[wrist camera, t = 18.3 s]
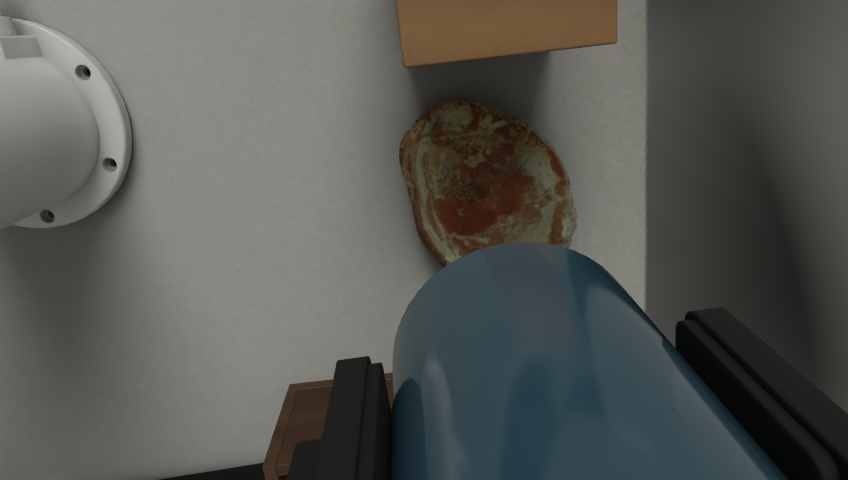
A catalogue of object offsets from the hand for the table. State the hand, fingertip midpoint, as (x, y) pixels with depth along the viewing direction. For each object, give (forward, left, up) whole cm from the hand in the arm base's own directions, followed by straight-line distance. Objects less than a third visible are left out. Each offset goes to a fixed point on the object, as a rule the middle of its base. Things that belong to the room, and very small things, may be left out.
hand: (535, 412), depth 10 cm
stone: (+5, +3, -30) cm, 30 cm away
